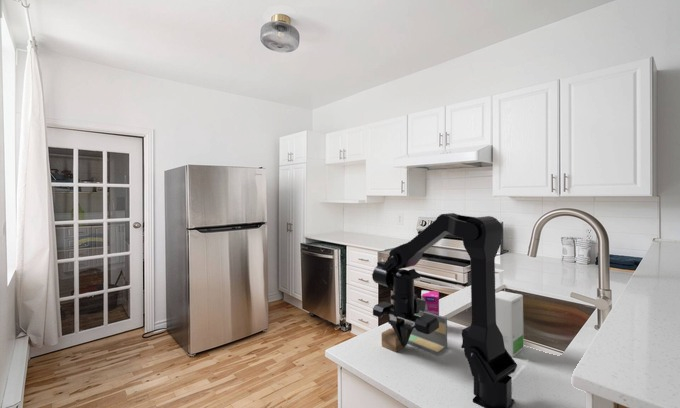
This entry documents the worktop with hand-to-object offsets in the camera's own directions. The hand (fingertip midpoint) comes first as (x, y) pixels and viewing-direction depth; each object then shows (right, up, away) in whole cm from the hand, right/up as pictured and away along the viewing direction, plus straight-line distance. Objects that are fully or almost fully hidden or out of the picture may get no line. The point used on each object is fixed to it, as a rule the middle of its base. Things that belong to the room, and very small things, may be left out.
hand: (404, 346), depth 87 cm
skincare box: (+29, -1, +1) cm, 29 cm away
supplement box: (+12, -1, +16) cm, 20 cm away
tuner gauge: (+4, -2, +6) cm, 8 cm away
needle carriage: (-3, -2, +3) cm, 4 cm away
